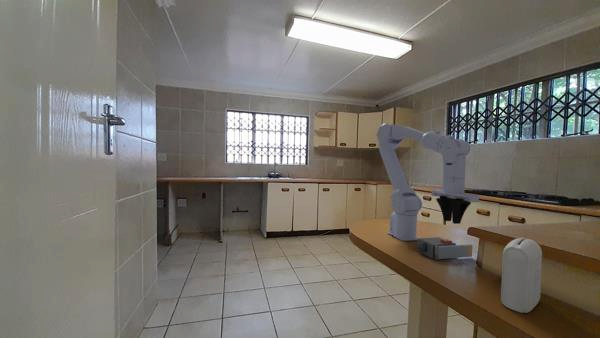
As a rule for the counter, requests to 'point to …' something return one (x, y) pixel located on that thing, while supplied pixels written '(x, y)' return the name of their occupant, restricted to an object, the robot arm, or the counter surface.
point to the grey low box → (431, 245)
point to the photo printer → (521, 275)
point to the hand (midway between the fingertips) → (451, 222)
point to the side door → (453, 251)
